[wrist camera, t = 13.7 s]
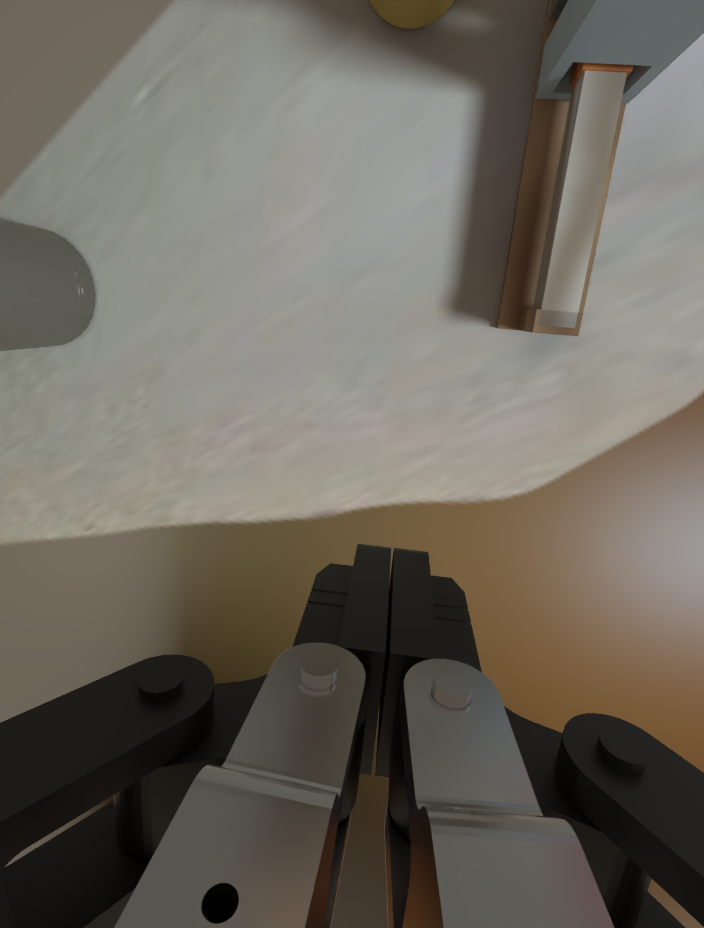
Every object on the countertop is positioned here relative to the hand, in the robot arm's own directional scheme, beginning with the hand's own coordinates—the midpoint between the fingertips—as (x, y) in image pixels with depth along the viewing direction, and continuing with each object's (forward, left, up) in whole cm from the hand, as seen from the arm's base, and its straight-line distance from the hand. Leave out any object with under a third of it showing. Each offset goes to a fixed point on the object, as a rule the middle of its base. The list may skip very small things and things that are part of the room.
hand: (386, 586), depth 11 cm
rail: (+10, +17, -32) cm, 38 cm away
